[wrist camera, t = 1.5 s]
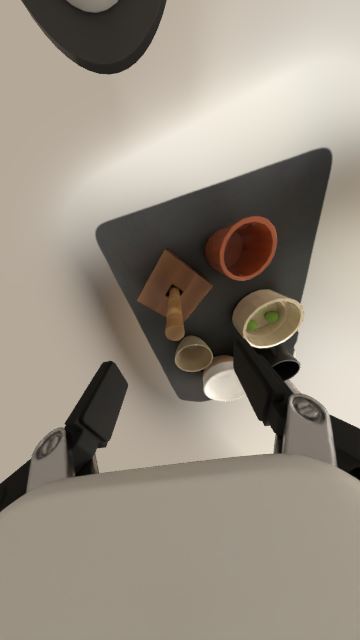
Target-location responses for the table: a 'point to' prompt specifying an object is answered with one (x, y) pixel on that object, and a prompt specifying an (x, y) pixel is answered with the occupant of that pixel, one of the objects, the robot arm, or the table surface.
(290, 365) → the mug
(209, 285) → the holder
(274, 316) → the pea
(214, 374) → the bowl
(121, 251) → the table surface
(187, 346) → the flower pot
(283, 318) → the mixing bowl
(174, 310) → the wooden dowel peg
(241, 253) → the crock
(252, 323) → the pea
